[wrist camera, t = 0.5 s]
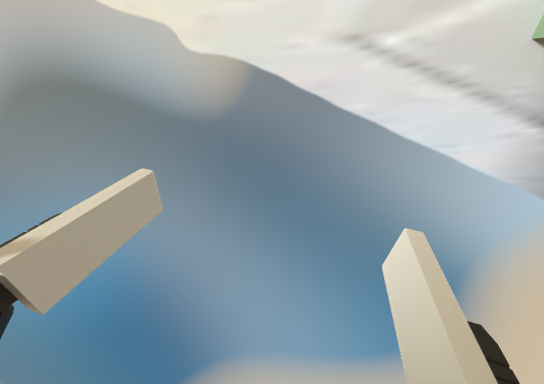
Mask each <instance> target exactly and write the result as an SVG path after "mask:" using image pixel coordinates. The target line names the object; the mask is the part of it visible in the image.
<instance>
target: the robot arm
mask: <svg viewBox="0 0 544 384" xmlns="http://www.w3.org/2000/svg"><path fill="white" fill-rule="evenodd" d="M162 210H163V207H162V203H161V198H160V195H159V190H158V186H157V183H156V178H155V174H154V171H151V170H147V169H140V170H138V171H136V172H134V173H133V174H131V175H129V176H127V177H126V178H124V179H122V180H120V181H118V182H117V183H115V184H113V185H111V186H110V187H108V188H106V189H104V190H103V191H101V192H99V193H97V194H95V195H94V196H92V197H90V198H88V199H87V200H85V201H83V202H81V203H80V204H78V205H76V206H74V207H72V208H71V209H69V210H67V211H65V212H62V213H60V214H57V215H54V216H52V217H50V218H49V219H47V220H45V221H43V222H41V223H40V224H39V225H38V226H37V225H36V226H35V227H33V228H31V229H29V230H28V231H27V232H23V233H22V234H20V235H18V236H16V237H14V238H13V239H11V240H9V241H7V242H5V243H4V244H2V245H0V339H1V336H2V335H3V333H4V330H5V328H6V326H7V324H8V322H9V320H10V318H11V316H12V314H13V311H14V307H13V305H12V304H13V303H14V302H15V301H17V300H19V301H20V302H21V303H22V304H23V305H24V306H25V307H26V308H28V309H30V310H33V311H35V312H38V313H40V314H44V313H45V312H46V311H48V310H49V309H50V308H51V307H52V306H53V305H54V304H56V303H57V302H58V301H59V300H60V299H61V298H62V297H64V296H65V295H66V294H67V293H68V292H69V291H71V290H72V289H73V288H74V287H75V286H76V285H77V284H78V283H80V282H81V281H82V280H83V279H84V278H86V277H87V276H88V275H89V274H90V273H91V272H92V271H94V270H95V269H96V268H97V267H98V266H99V265H100V264H102V263H103V262H104V261H105V260H106V259H107V258H108V257H110V256H111V255H112V254H113V253H114V252H115V251H117V250H118V249H119V248H120V247H121V246H122V245H123V244H125V243H126V242H127V241H128V240H129V239H130V238H131V237H132V236H134V235H135V234H136V233H137V232H138V231H139V230H141V229H142V228H143V227H144V226H145V225H146V224H148V223H149V222H150V221H151V220H152V219H153V218H154V217H155V216H157V215H158V214H159V213H160V212H161V211H162ZM382 269H383V274H384V278H385V283H386V287H387V292H388V297H389V302H390V306H391V311H392V316H393V320H394V325H395V329H396V334H397V338H398V343H399V348H400V353H401V357H402V362H403V366H404V371H405V376H406V380H407V384H519V381H518V380H517V378H516V376H515V374H514V372H513V371H512V370H511V369H510V368H509V364H508V362H507V360H506V358H505V357H504V355H503V353H502V351H501V349H500V348H499V346H498V344H497V343H496V342H495V341H494V340H493V338H492V337H491V336H490V335H489V334H488V333H487V331H486V330H485V329H484V328H483V327H482V326H481V325H479V324H475V323H472V322H469V321H466V319H465V316H464V314H463V312H462V310H461V308H460V306H459V304H458V302H457V300H456V298H455V296H454V294H453V292H452V290H451V288H450V286H449V284H448V282H447V280H446V278H445V276H444V274H443V272H442V270H441V268H440V266H439V264H438V262H437V260H436V258H435V256H434V254H433V252H432V249H431V247H430V245H429V243H428V241H427V239H426V237H425V235H424V233H423V232H420V231H416V230H411V229H407V228H405V229H404V230H403V232H402V234H401V235H400V237H399V239H398V240H397V242H396V244H395V245H394V247H393V249H392V250H391V252H390V254H389V255H388V257H387V259H386V260H385V262H384V264H383V266H382Z"/></svg>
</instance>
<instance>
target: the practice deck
mask: <svg viewBox="0 0 544 384" xmlns="http://www.w3.org/2000/svg"><path fill="white" fill-rule="evenodd" d="M537 38H544V16H543V18H542V20H541V21H540V23H539V25H538V27H537V29H536V31H535V33H534V35H533V37H532V39H537Z"/></svg>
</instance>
